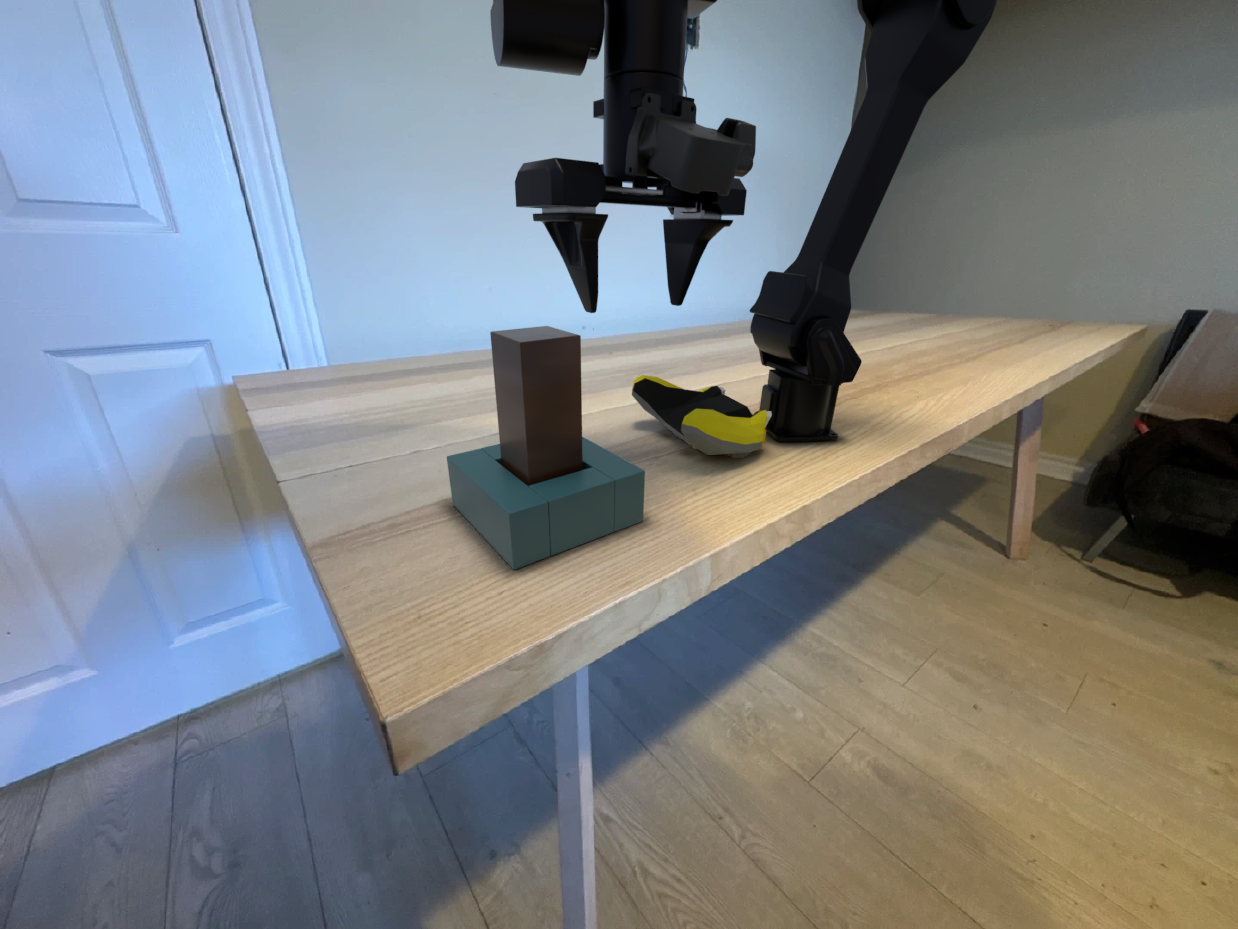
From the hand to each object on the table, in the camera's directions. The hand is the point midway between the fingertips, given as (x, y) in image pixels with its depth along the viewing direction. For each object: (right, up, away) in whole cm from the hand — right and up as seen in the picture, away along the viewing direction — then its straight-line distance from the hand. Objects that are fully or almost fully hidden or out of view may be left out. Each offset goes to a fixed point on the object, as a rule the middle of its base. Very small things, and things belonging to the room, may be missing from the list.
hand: (636, 308), depth 43 cm
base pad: (-7, -17, -5) cm, 19 cm away
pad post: (-7, -17, -6) cm, 19 cm away
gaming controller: (+6, -11, +8) cm, 15 cm away
